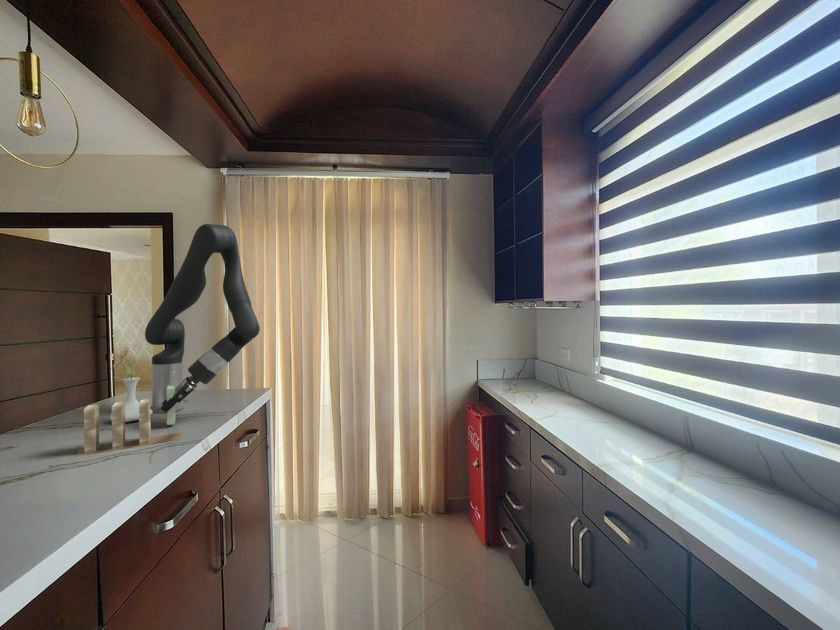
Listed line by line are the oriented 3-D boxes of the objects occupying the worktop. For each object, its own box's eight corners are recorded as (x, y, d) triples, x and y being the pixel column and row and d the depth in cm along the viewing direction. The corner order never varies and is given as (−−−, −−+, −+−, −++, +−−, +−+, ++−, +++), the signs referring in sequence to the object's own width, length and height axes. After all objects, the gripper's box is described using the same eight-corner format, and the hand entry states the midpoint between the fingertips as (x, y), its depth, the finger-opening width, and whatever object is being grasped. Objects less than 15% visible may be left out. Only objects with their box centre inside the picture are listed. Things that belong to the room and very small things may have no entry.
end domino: (84, 453, 93) (83, 409, 92) (89, 447, 97) (88, 405, 97) (95, 452, 94) (94, 408, 93) (99, 445, 98) (98, 404, 98)
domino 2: (139, 445, 98) (138, 403, 98) (141, 439, 103) (141, 399, 102) (148, 443, 99) (148, 402, 99) (150, 438, 104) (150, 398, 103)
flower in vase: (115, 417, 127) (114, 344, 127) (156, 413, 132) (155, 342, 131) (102, 428, 115) (100, 348, 115) (147, 423, 120) (146, 346, 120)
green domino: (166, 425, 112) (166, 388, 112) (167, 420, 117) (167, 385, 116) (174, 424, 114) (174, 388, 113) (175, 419, 118) (175, 385, 118)
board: (73, 460, 91) (73, 456, 91) (81, 451, 97) (81, 447, 97) (180, 443, 102) (180, 439, 102) (181, 436, 108) (181, 432, 108)
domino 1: (112, 449, 95) (111, 406, 95) (115, 443, 100) (115, 402, 100) (122, 447, 97) (121, 405, 96) (125, 441, 101) (124, 401, 101)
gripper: (198, 355, 125) (154, 395, 119) (199, 361, 112) (150, 406, 106) (216, 370, 128) (174, 410, 122) (219, 377, 115) (173, 421, 109)
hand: (163, 408), depth 114 cm, fingers closed on green domino, 5 cm apart
